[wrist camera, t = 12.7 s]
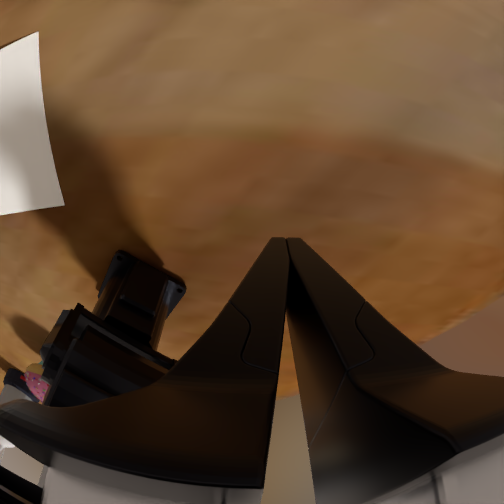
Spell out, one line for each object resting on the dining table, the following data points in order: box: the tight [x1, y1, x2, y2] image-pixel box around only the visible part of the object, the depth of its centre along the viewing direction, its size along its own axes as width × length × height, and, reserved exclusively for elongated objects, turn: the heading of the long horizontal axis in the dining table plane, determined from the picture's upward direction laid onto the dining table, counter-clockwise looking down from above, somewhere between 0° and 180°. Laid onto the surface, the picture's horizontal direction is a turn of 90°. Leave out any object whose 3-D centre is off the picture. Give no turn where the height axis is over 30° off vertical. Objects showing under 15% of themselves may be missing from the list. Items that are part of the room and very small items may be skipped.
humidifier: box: [0, 368, 40, 456], centre depth 30 cm, size 8×8×25 cm
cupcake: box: [24, 361, 49, 402], centre depth 29 cm, size 9×8×12 cm
